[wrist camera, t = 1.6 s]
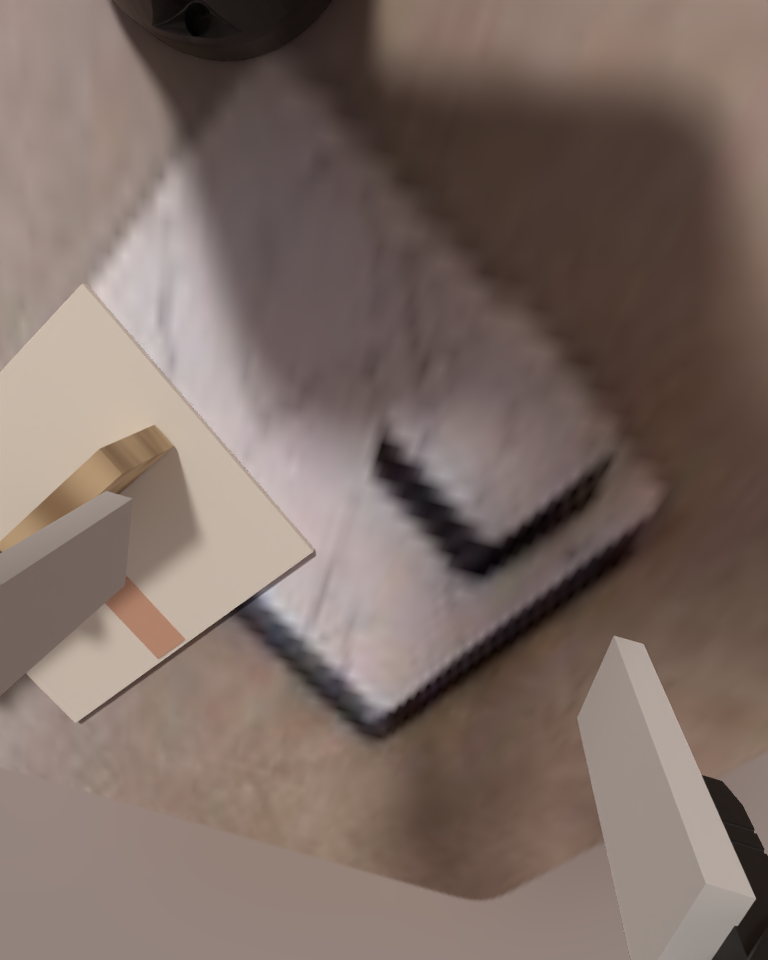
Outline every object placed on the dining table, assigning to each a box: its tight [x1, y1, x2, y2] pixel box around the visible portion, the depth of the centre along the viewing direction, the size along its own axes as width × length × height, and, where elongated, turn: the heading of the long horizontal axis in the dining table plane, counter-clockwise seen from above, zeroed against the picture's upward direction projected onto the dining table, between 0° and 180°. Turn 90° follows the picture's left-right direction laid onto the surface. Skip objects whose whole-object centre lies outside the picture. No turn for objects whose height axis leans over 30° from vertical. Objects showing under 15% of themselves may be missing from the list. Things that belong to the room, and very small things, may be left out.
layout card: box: [0, 283, 315, 723], centre depth 42 cm, size 22×26×1 cm
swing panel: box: [0, 425, 173, 553], centre depth 37 cm, size 13×2×7 cm, turn 129°
